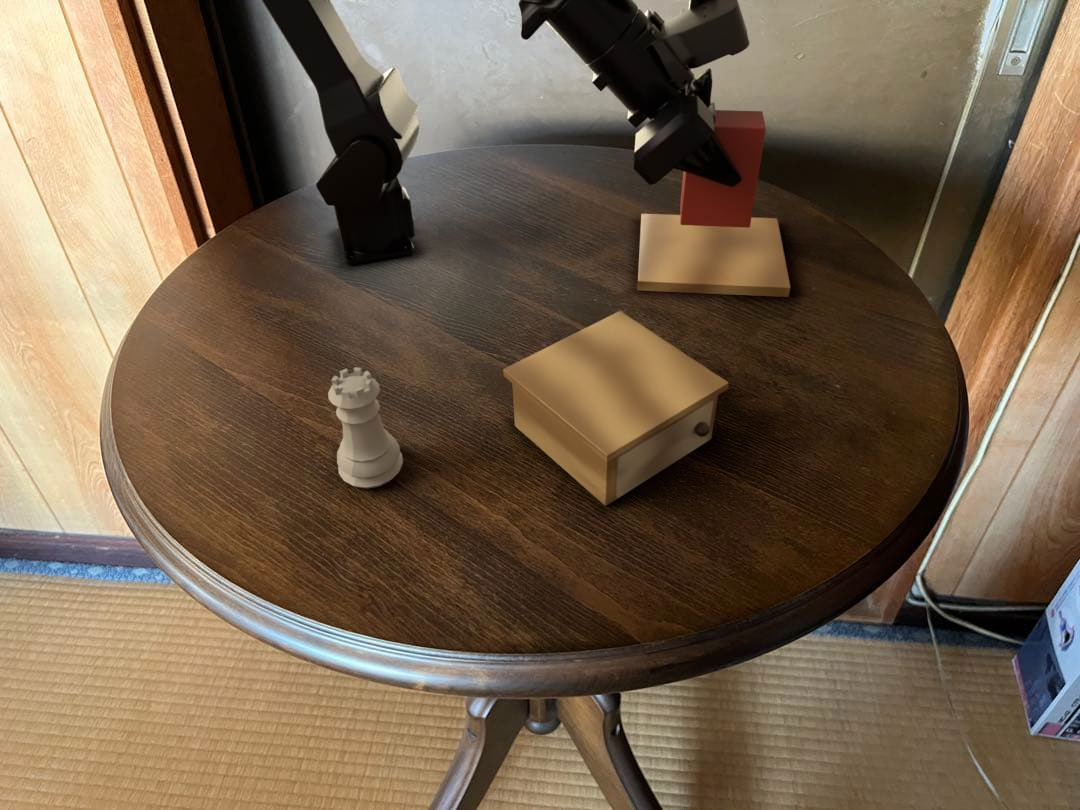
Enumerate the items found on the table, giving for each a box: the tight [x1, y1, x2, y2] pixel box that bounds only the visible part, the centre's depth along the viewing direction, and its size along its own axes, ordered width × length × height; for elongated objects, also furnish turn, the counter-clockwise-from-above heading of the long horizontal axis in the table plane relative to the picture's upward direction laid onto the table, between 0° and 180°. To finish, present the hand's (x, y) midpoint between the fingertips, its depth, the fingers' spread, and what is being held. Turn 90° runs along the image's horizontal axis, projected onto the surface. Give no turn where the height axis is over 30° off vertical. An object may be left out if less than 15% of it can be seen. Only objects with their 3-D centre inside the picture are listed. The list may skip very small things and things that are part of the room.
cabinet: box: [502, 310, 730, 507], centre depth 58 cm, size 11×12×5 cm
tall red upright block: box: [679, 109, 767, 228], centre depth 71 cm, size 4×6×9 cm, turn 83°
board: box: [636, 213, 791, 298], centre depth 77 cm, size 13×12×1 cm
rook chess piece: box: [327, 366, 404, 490], centre depth 55 cm, size 4×4×8 cm
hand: (736, 172), depth 71 cm, fingers closed on tall red upright block, 3 cm apart
